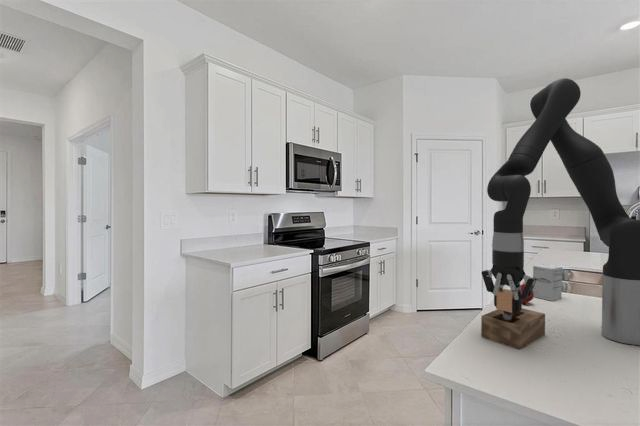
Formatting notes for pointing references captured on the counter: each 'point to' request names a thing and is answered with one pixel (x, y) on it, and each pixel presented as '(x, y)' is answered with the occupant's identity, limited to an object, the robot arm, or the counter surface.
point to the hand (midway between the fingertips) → (507, 310)
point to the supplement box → (547, 282)
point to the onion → (526, 298)
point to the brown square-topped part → (505, 304)
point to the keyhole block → (513, 327)
